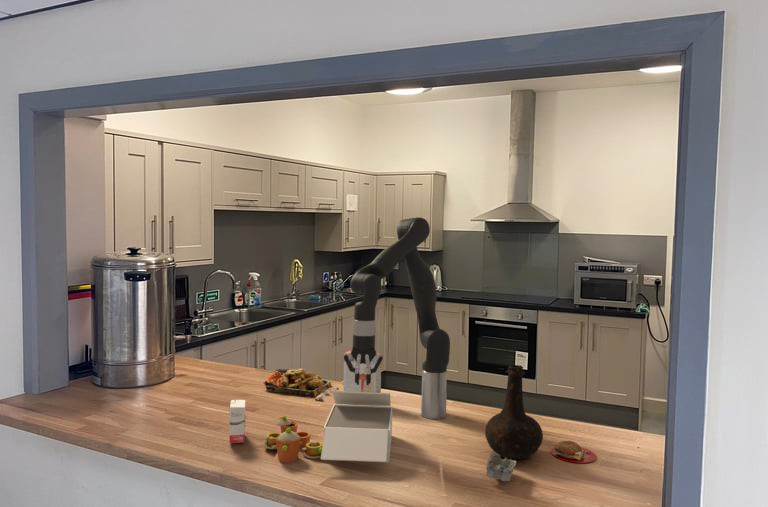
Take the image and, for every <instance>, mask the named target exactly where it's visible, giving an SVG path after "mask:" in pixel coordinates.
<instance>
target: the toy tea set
mask: <svg viewBox="0 0 768 507" xmlns="http://www.w3.org/2000/svg"><path fill="white" fill-rule="evenodd" d="M276 425H277V426H279V427H280V432H277V431H275V432H274V431H270V432H269V433H267V434H266V435H265V437H264V439H265V441H264V442H263V446H264V448H266V449H269V450H276V453H277V457H278V458H277V459H278V461H279V462H280V463H284V464H285V463H286V464H288V463H289V464H290V463H293V462H296V461H297V460H298V458H299V454H300V453H299V451H300V450H302V451H303V456H304V457H305V458H307V459H311V460H312V459H313V460H315V459H321V453H322V447H323V442H322V441H319V440H317V441H315V440H314V441H313V440H312V441H311V438H312V437H311V436H312V434H311V433H310V432H308V431H305V430H304V431H303V430H300V431H298V425H299V423H298V422H296V421H291V420H290V419H288V418H287V416H286V415H283V416H281V418H280V419H279V420H277V421H276Z"/></svg>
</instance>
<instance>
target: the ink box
mask: <svg viewBox="0 0 768 507" xmlns="http://www.w3.org/2000/svg"><path fill="white" fill-rule="evenodd" d="M246 405H247V402H246V399H231V400H230V405H229V406H230V407H229V444H240V443H245V440H246V439H245V438H246V416H247V415H246V409H247V408H246Z"/></svg>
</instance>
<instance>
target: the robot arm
mask: <svg viewBox="0 0 768 507" xmlns="http://www.w3.org/2000/svg"><path fill="white" fill-rule="evenodd" d="M430 227H431V226H430V224H429V222H428V221H427V219H425V218H424V217H417V216H416V217H411V218H405V219H404V218H403V219H401V220H400V221H398V223H397V227H396V235H397V241H396V242H394V243H392V244H391V245H389V246H388V247H386V248H384V249H383V250H382V251H381V252H380V253H379V254H378V255H377V256H376V257H375V258H374V259H373V261H371V263H369V264H367V265H366V266H364V267H362V268H361V269H359V270H358V271H357V272H356V273H354V275H353V276H352V278H351V280H350V283H349V285H350V289H351V291H352V292H353V293H355V294H356V295H357V294H358V295H363V300H362V301H357V302H356V303H355V305H354V310H353V311H354V314H353V325H352V347H351V348H352V349H351V350H350V351H351V353H348V354H345V355H344V354H343V360H344V359H345V361H346V364H347V366H348V368H349V370H350V372H354V373H355V383H357V385H359V376H360V373H359V368H360V364H362V363H364V364H366V368H367V378H366V385H369V384H370V382H371V374H372V373H375V372H376V371H377V369H378V367H379V365H380V363H381V364H382V362H383V358H384V355H382V354H381V355H379V354H377V350H376V309H377V308H376V307H377V304H378V301H379V297H380V294H381V290H382V283H381V280H383V279H385V278H386V277H388V275H389V274H390V273H391V272H392V271H393V269H394V268H395V267H396V266H397V265H398V264H399V263H400V262H401V261H403V259H404V262H405V267H406V270H407V275H408V281H409V286H410V289H411V294H412V298H413V299H412V300H413V303H414V306H415V311H416V315H417V322H418V323H417V324H418V331H419V340H420V343H421V346H423V348H424V349H426V354H425V355H426V356H425V360H424V361H423V362H422V365H421V367H422V368H421V405H420V406H421V407H420V408H421V409H420V411H421V412H420V415H421V416H422V417H424V418H427V419H431V420H438V419H440V420H441V419H446V418H447V396H448V395H447V394H448V393H447V373H448V372H447V370H448V365H449V362H450V352H451V351H450V350H451V338H450V336H449V333H448V332H447V331H445V330H444V329H442V328H441V327H440V326H439V322H438V319H437V313H436V306H437V305H436V304H437V295H438V294H437V293H438V292H437V287H436V282H435V281H436V280H435V277H434V274H433V272H432V270H431V269H430V267H429V266H428V264H426V262H425V261H424V260H423V258H422V256H421V255H420V253H419V249H418V246H420V245H421V244H423V243H424V242H425V241H426V240H427V239H428V237H429V235H430ZM351 356H353V358H354V359H355V361H356V368H354V367H353V365H352V363H351V361H350V360H351ZM374 357H376V361H377V362H376V364H375V366H374V368H372V369H371V363H370V362H371V361H372V360H373V358H374Z"/></svg>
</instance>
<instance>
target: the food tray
mask: <svg viewBox="0 0 768 507" xmlns="http://www.w3.org/2000/svg"><path fill="white" fill-rule="evenodd" d="M262 383H263V384H264V387H265V389H266V391H267V392H271V393H277V394H278V393H279V394H285V395H295V396H301V397H310V398H313V397H315V398H314V400H315V401H319V400H322V401H324V400H323V399H324V398H326V397H327V394H330V393H331V392H332V390H338V389H339V387H338V386H335V387H334V386H332V381H330V380H327V379H326V380H325V379H323V378H322V376H321V375H318V374H317V375H316V374H315V373H313V372H312V371H307V372H306V369H305V368H301V367H300V368H281V369H280V368H278V369H273V374H270V375H269V376H268V379H267V380H264V381H263V382H262ZM342 385H343V386H344V382H343V383H342ZM261 393H264V391H262V392H260V394H261Z"/></svg>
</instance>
